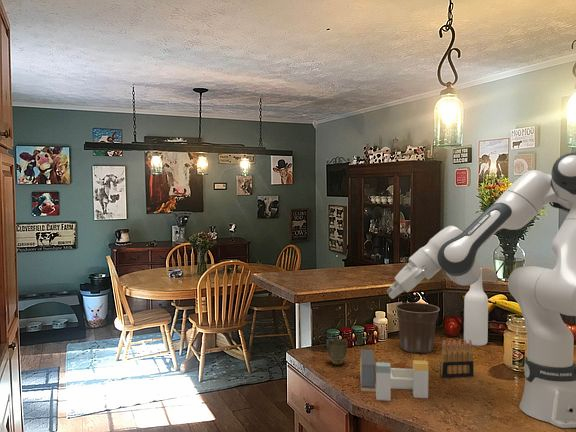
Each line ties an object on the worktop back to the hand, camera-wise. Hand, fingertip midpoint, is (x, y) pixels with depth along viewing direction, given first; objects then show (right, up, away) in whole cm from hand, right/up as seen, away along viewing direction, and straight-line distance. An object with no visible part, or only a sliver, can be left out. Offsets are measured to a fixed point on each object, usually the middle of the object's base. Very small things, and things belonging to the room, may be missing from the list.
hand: (389, 295), depth 153 cm
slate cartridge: (-4, -28, -11) cm, 31 cm away
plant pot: (+18, -26, +34) cm, 46 cm away
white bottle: (+43, -26, +41) cm, 64 cm away
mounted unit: (-6, -28, +2) cm, 28 cm away
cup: (-15, -27, +18) cm, 36 cm away
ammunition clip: (+23, -28, +6) cm, 37 cm away
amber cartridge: (+7, -28, -9) cm, 30 cm away
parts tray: (+4, -28, 0) cm, 28 cm away
